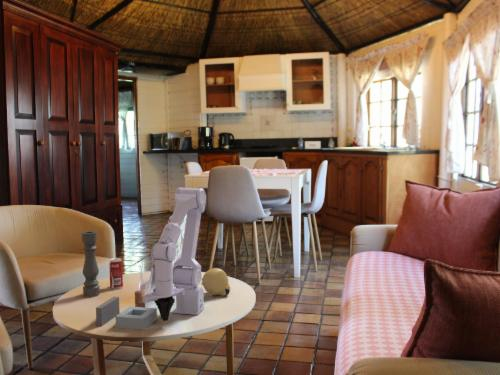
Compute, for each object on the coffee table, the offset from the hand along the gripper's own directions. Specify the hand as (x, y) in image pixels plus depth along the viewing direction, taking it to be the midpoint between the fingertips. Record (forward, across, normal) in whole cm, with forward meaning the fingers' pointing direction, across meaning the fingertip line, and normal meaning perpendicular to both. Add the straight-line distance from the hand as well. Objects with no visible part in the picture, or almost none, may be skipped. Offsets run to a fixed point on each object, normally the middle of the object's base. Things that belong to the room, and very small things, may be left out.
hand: (164, 319), depth 161 cm
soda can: (+2, -6, -50) cm, 50 cm away
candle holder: (+2, +6, -47) cm, 48 cm away
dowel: (+2, 0, -18) cm, 18 cm away
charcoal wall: (+2, +12, -17) cm, 21 cm away
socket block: (+2, +6, -8) cm, 10 cm away
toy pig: (+2, -32, -16) cm, 36 cm away
